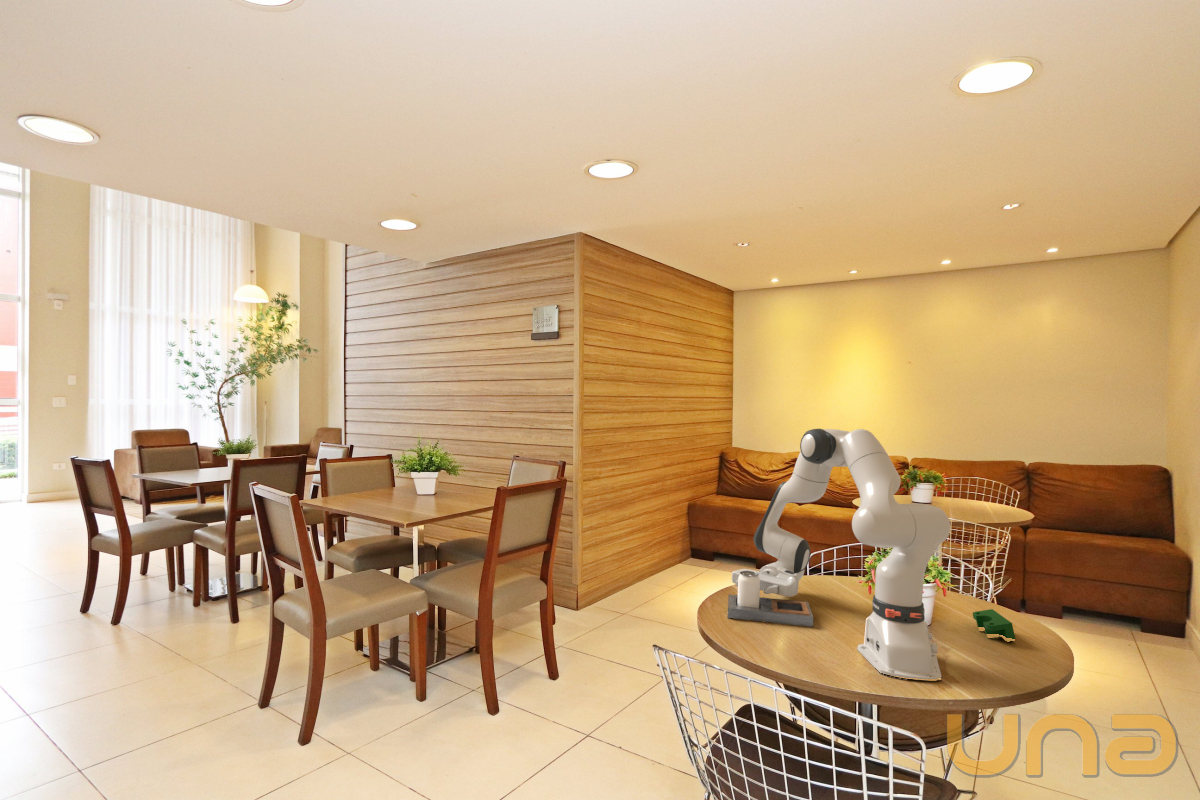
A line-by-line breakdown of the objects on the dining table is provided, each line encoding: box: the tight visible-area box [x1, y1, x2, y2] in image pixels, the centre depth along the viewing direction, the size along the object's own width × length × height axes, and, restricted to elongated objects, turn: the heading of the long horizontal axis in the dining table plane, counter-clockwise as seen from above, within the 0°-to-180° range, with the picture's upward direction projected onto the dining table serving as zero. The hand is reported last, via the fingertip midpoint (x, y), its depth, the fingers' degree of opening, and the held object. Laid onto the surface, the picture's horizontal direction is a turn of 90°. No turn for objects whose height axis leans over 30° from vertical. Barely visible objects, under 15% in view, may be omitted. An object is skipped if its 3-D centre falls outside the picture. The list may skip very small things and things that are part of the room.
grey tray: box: [727, 594, 814, 628], centre depth 186 cm, size 13×24×3 cm, turn 78°
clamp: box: [972, 608, 1016, 639], centre depth 175 cm, size 12×6×9 cm, turn 166°
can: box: [737, 571, 761, 608], centre depth 188 cm, size 6×6×12 cm
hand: (751, 587), depth 189 cm, fingers open, 8 cm apart
